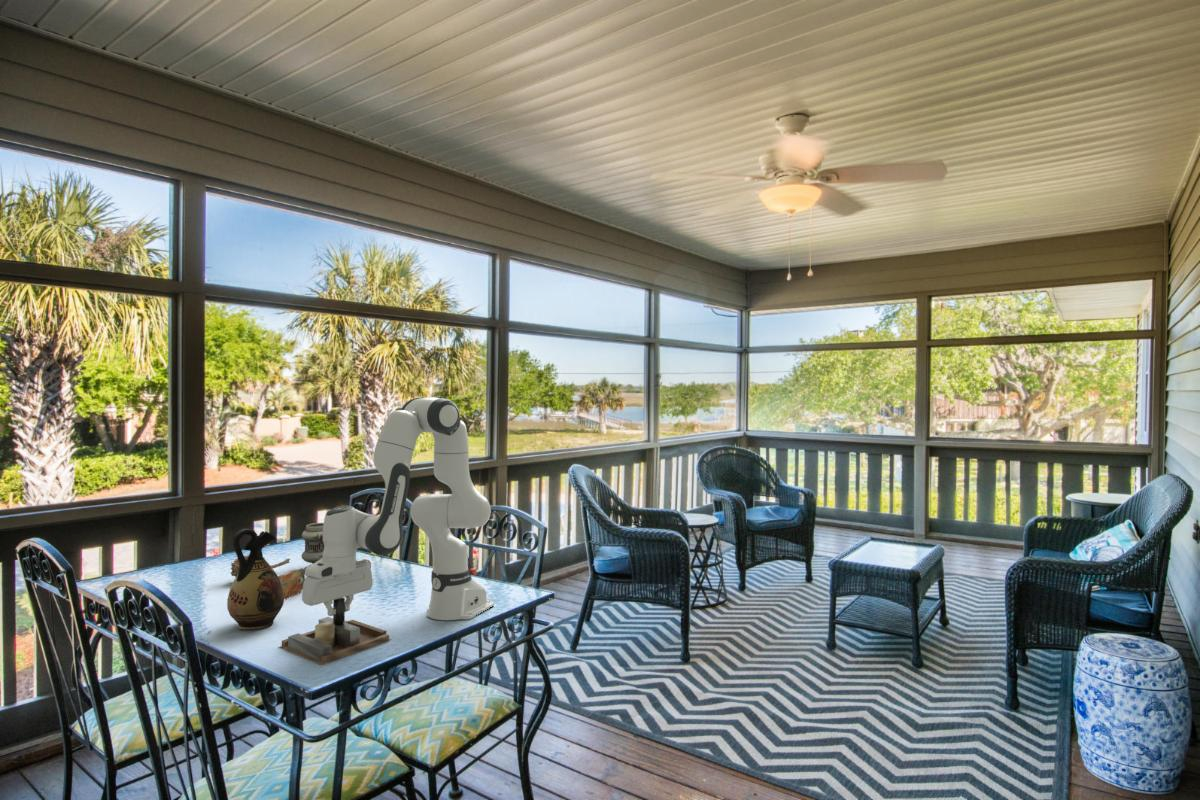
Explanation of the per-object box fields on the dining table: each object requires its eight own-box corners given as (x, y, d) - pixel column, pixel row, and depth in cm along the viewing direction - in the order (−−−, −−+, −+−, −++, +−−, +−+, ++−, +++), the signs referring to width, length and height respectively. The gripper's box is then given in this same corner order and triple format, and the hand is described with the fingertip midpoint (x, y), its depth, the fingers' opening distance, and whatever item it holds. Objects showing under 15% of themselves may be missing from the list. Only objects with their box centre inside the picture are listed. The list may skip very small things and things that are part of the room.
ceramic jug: (270, 613, 209) (271, 520, 209) (292, 624, 199) (293, 527, 199) (212, 627, 196) (213, 528, 196) (233, 640, 186) (234, 536, 186)
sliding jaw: (327, 633, 188) (328, 592, 188) (359, 645, 180) (360, 602, 180) (318, 637, 186) (318, 595, 186) (350, 649, 177) (350, 605, 177)
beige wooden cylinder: (327, 642, 183) (327, 621, 183) (338, 646, 180) (338, 624, 180) (311, 647, 178) (311, 626, 178) (321, 652, 176) (321, 630, 176)
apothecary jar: (310, 564, 269) (310, 521, 269) (338, 564, 269) (339, 521, 269) (295, 572, 257) (295, 527, 257) (325, 572, 257) (325, 527, 256)
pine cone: (237, 587, 236) (237, 560, 236) (224, 582, 242) (225, 556, 242) (295, 574, 254) (295, 549, 254) (282, 570, 259) (283, 545, 259)
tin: (277, 603, 219) (277, 578, 219) (268, 603, 219) (269, 578, 219) (305, 590, 234) (305, 567, 233) (298, 590, 234) (298, 566, 234)
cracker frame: (348, 627, 197) (348, 614, 197) (391, 642, 185) (392, 628, 185) (278, 650, 179) (278, 636, 179) (321, 669, 167) (321, 653, 167)
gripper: (364, 555, 193) (363, 601, 193) (299, 570, 176) (298, 620, 176) (377, 558, 190) (376, 605, 190) (312, 573, 173) (311, 625, 173)
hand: (338, 613), depth 183 cm, fingers closed on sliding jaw, 3 cm apart
